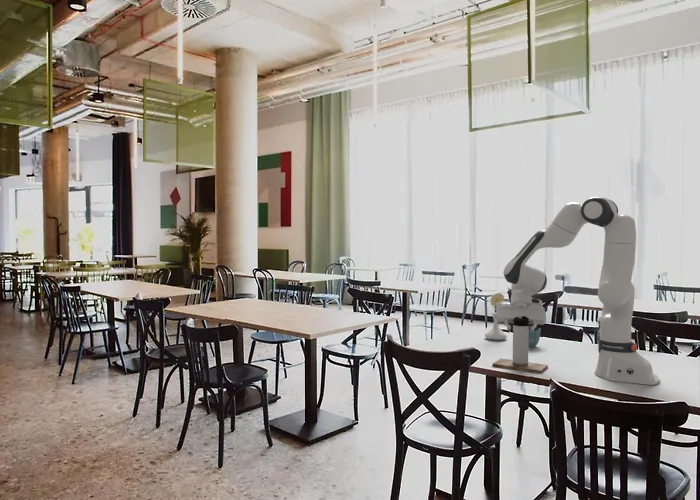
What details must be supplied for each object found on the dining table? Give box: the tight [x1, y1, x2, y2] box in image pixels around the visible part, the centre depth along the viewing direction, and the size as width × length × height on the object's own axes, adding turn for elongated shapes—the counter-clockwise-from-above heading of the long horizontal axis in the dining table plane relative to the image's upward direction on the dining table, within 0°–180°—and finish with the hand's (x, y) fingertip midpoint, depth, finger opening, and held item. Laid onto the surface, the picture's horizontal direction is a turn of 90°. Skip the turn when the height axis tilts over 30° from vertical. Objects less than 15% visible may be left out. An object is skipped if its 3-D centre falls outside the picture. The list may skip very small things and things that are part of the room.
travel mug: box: [512, 316, 530, 366], centre depth 223 cm, size 6×7×20 cm
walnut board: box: [491, 357, 549, 374], centre depth 224 cm, size 20×11×1 cm, turn 57°
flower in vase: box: [484, 292, 508, 341], centre depth 278 cm, size 13×11×25 cm
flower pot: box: [528, 326, 542, 349], centre depth 262 cm, size 9×9×9 cm
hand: (520, 330), depth 223 cm, fingers open, 8 cm apart
